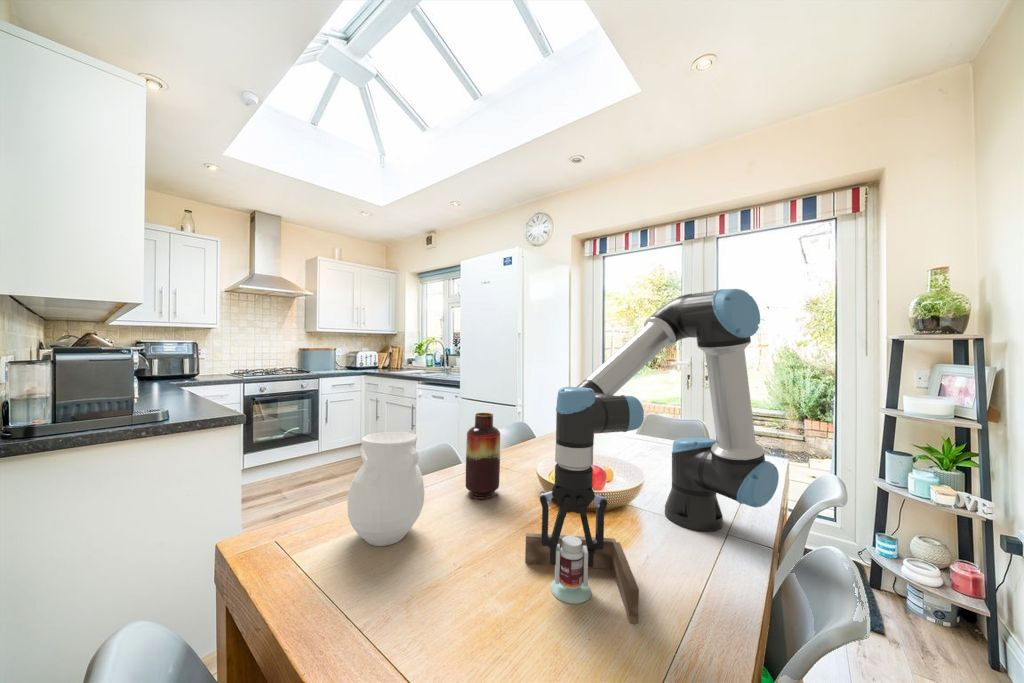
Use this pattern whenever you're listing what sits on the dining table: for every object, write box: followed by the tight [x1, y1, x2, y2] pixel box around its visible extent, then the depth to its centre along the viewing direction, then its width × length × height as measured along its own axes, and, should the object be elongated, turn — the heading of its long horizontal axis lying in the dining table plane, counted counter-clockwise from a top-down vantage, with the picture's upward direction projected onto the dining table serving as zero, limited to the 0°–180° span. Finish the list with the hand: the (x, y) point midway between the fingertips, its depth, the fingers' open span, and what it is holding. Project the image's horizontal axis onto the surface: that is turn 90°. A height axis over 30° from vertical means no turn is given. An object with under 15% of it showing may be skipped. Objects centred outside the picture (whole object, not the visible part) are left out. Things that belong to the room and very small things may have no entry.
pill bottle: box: [559, 535, 584, 589], centre depth 75 cm, size 5×5×8 cm
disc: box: [550, 579, 592, 605], centre depth 75 cm, size 8×8×1 cm
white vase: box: [347, 430, 425, 547], centre depth 94 cm, size 19×18×25 cm
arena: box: [524, 532, 640, 624], centre depth 76 cm, size 21×18×6 cm
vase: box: [465, 412, 501, 501], centre depth 122 cm, size 11×11×26 cm
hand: (570, 580), depth 75 cm, fingers closed on pill bottle, 5 cm apart
